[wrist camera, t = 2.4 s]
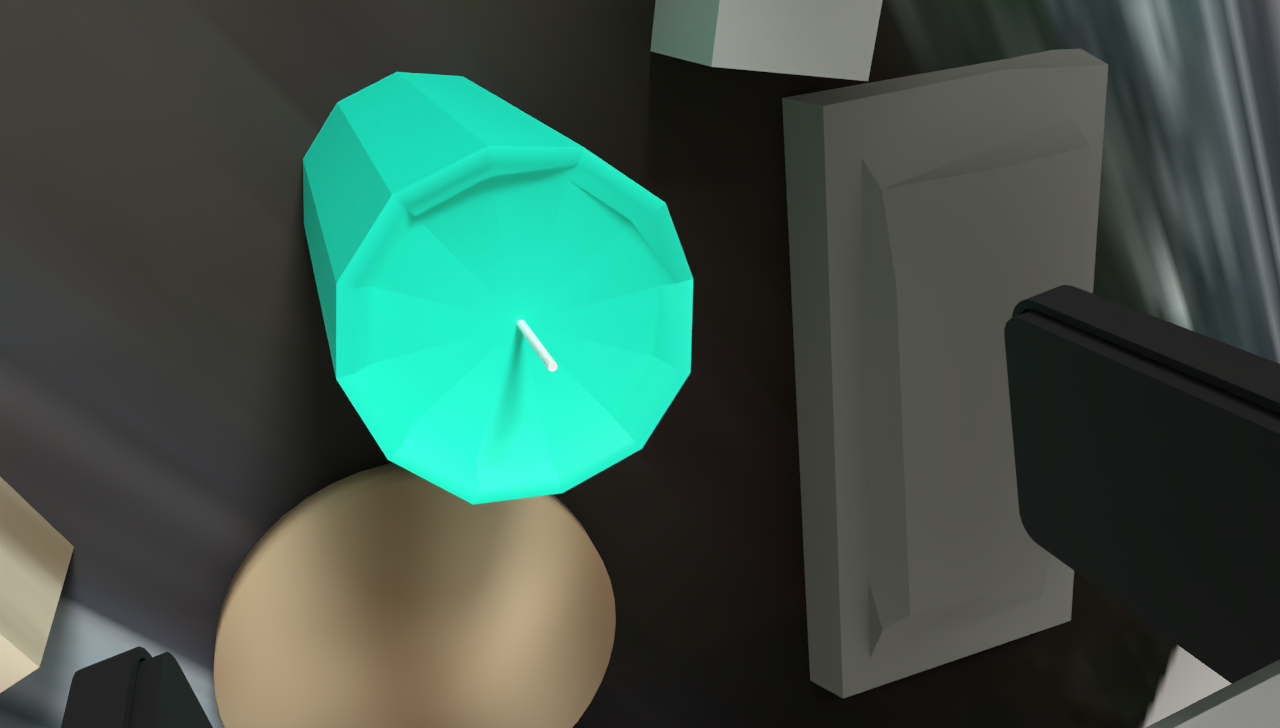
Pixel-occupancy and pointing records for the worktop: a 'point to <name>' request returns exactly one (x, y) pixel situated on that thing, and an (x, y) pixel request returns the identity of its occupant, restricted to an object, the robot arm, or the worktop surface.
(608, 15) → the worktop surface
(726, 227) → the worktop surface
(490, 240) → the candle
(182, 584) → the worktop surface
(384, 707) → the disc
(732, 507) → the worktop surface
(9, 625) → the maple cube
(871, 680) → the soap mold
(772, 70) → the grey stone block
